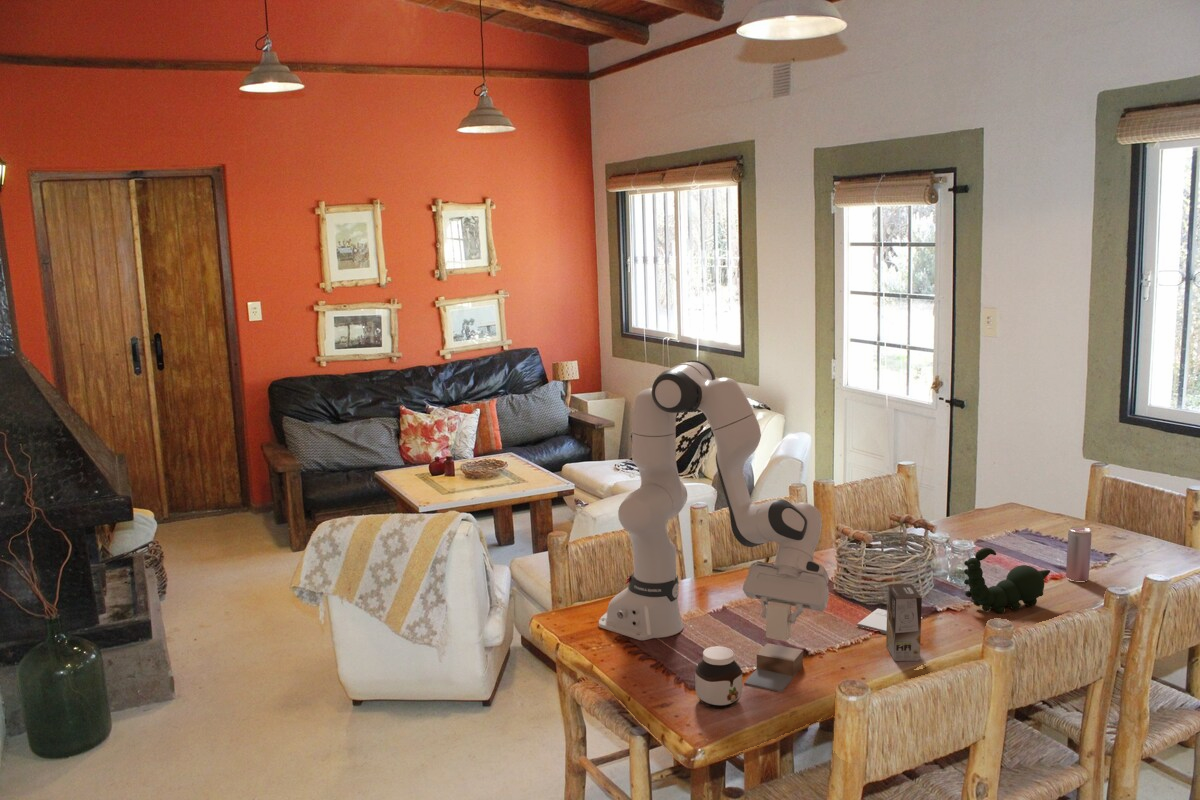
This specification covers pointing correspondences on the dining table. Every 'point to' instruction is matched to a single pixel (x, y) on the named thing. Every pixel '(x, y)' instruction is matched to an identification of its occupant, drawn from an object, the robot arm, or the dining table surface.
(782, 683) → the mat
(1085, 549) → the beverage can
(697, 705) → the dining table surface
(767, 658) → the deck
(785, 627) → the block
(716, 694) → the spread jar
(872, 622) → the external hard drive
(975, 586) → the toy figurine
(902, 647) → the coffee box
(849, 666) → the dining table surface
